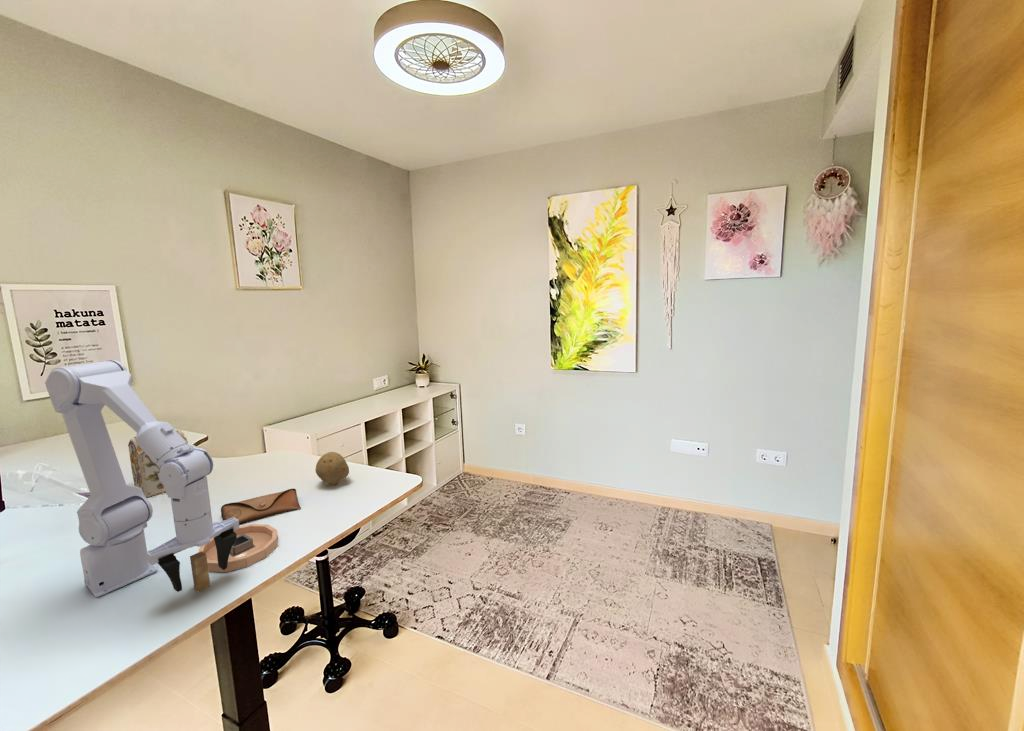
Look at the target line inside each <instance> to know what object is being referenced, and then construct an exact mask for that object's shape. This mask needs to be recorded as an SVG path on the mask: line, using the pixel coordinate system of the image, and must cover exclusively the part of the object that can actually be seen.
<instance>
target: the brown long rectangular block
mask: <svg viewBox="0 0 1024 731" xmlns="http://www.w3.org/2000/svg"><path fill="white" fill-rule="evenodd" d="M189 561H190V567H191V576H192V581H193V582H192V583H193V589H194V590H195V591H196V592H197V593H200V592H203V591H204V590H206V589H209V588H210V587H211V580H210V575H209V574H210V572H209V571H208V564H207V556H206V554H205V553H204V552H202V551H201V552H199V553H198V552H196V553H194V554H192V555H189Z"/></svg>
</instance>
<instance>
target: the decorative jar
mask: <svg viewBox="0 0 1024 731" xmlns="http://www.w3.org/2000/svg"><path fill="white" fill-rule="evenodd" d="M175 430H176V431H177V432H178V433H179V434H180V435H181V436H182V438H183V439H184V440H185V441H186V442H187V443H188V444H189V441H188V439H187V437H186V435H185V433H184V432H183V431H182V430H180V429H175ZM135 440H136V436H134V437H132V438H130V440H129V442H128V445H127V447H128V452H129V458H130V459H129V460H130V468H131V474H132V479H133V480H132V481H133V485H134V487H138V488H141V489H142V491H143V493H144V495H145V497H146V498H147V499H148V498H151V497H153V496H157V495H161V494H164V493H166V489H165V487H164V485H163V484H162V483H161V481H160V480H159V477H158V473H160V468H159V467H158V466H157V465H156V464H155V463H154V462H153V461H152V459H151V458H150V457H149V456H148V455H147V454H146V453H145V452H144V451H143V450H142V449H141V448H140V447H139V446H138V445H137V443H136V441H135Z"/></svg>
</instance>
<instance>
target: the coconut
mask: <svg viewBox="0 0 1024 731" xmlns="http://www.w3.org/2000/svg"><path fill="white" fill-rule="evenodd" d="M315 474H316V475H317V477H318V478H319V479H320V480H321V481H322V482H323V483H325V484H327V485H330V486H334V485H337V484H338V483H340V481H342V480H344V479H346V478H347V477H348V475H349V474H350V467H349V465H348V463H347V461H346V460H345V458H344V457H343V456H342V454H340V453H338V452H334V451H329V452H326V453H324V454H323V455H322V456H321V457H320V458H319V459H318V461H317V462H316V464H315Z"/></svg>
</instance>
